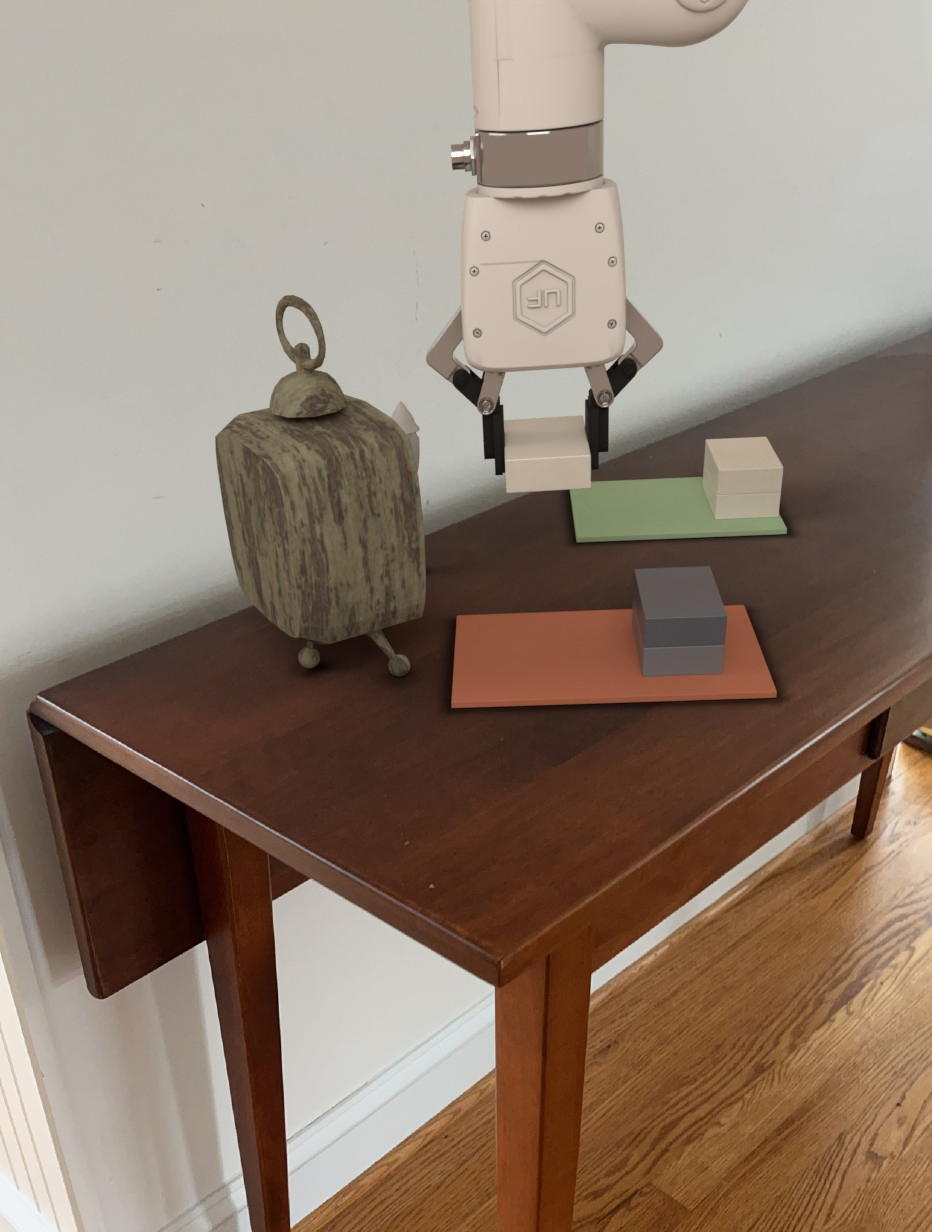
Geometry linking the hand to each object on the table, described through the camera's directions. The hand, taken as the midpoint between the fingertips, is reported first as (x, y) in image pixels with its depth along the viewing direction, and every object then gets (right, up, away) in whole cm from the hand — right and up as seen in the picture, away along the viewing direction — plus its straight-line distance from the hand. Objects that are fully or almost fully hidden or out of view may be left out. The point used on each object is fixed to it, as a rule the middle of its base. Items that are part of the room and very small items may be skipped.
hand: (546, 463), depth 84 cm
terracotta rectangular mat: (+5, -12, +6) cm, 14 cm away
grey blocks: (+10, -11, +6) cm, 16 cm away
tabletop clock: (-15, -12, +9) cm, 21 cm away
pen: (-9, -2, +21) cm, 23 cm away
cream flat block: (0, 0, 0) cm, 0 cm away
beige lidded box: (+20, +6, +29) cm, 35 cm away
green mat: (+14, +5, +29) cm, 33 cm away
